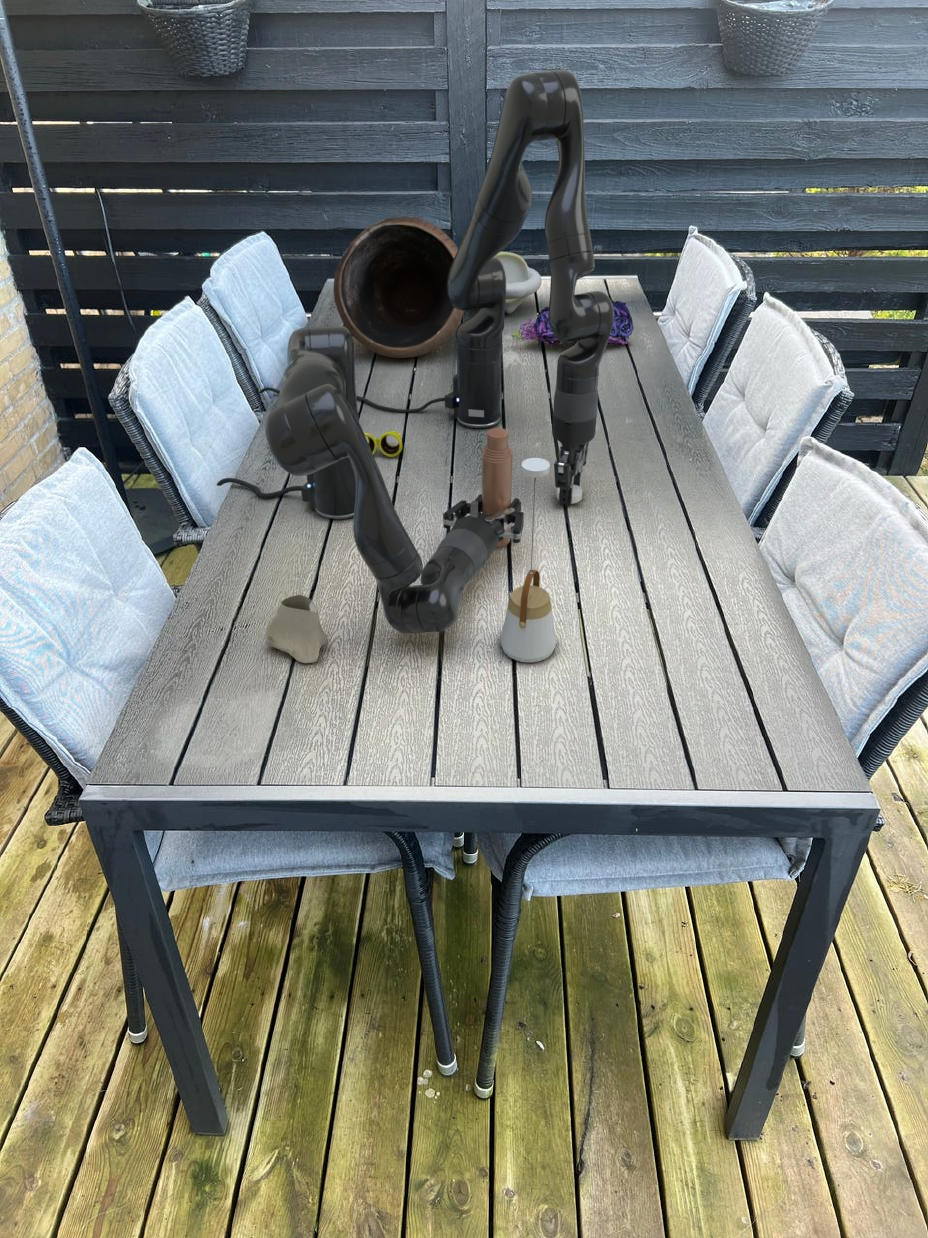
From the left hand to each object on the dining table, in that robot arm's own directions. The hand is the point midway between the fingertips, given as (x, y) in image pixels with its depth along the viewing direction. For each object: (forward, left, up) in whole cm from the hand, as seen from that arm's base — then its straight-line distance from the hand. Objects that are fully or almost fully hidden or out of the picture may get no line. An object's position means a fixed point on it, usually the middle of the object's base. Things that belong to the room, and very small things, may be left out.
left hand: (501, 499), depth 159 cm
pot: (-53, +76, -7) cm, 93 cm away
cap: (+8, +15, -5) cm, 17 cm away
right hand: (+8, +15, -6) cm, 18 cm away
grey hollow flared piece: (-17, -42, -7) cm, 46 cm away
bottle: (0, -3, -7) cm, 7 cm away
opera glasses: (-33, +19, -7) cm, 39 cm away
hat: (-40, +106, -7) cm, 113 cm away
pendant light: (+15, -28, -7) cm, 33 cm away
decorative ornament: (-14, +88, -7) cm, 89 cm away
